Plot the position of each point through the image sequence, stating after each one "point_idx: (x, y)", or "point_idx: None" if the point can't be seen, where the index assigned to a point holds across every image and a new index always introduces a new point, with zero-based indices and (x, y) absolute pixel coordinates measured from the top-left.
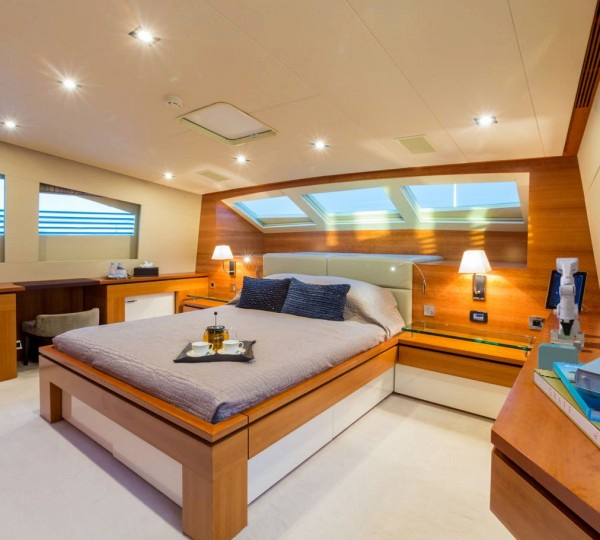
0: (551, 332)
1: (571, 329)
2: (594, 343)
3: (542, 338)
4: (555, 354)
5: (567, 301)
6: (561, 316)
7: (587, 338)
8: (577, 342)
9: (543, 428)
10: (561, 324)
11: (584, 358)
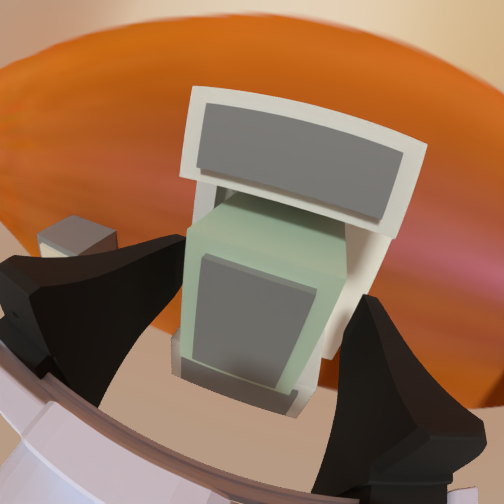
0: (195, 95)
1: (195, 353)
2: (335, 390)
3: (453, 73)
4: None
5: None
6: (31, 451)
7: (469, 391)
8: (42, 256)
9: None
10: (30, 262)
11: (13, 226)
